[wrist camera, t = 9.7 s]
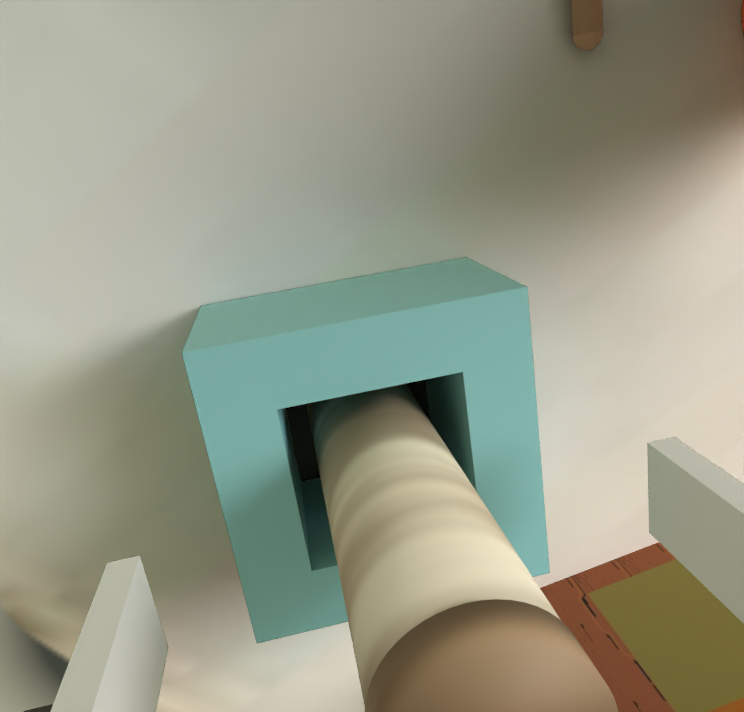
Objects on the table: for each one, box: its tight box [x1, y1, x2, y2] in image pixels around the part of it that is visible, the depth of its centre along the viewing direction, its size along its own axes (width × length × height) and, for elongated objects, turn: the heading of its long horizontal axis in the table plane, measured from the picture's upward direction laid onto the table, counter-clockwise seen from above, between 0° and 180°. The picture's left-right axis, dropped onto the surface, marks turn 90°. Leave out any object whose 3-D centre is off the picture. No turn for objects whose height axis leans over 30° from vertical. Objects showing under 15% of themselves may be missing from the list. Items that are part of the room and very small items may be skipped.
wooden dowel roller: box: [307, 384, 618, 712], centre depth 18 cm, size 4×4×16 cm
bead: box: [182, 257, 550, 643], centre depth 23 cm, size 10×10×6 cm
